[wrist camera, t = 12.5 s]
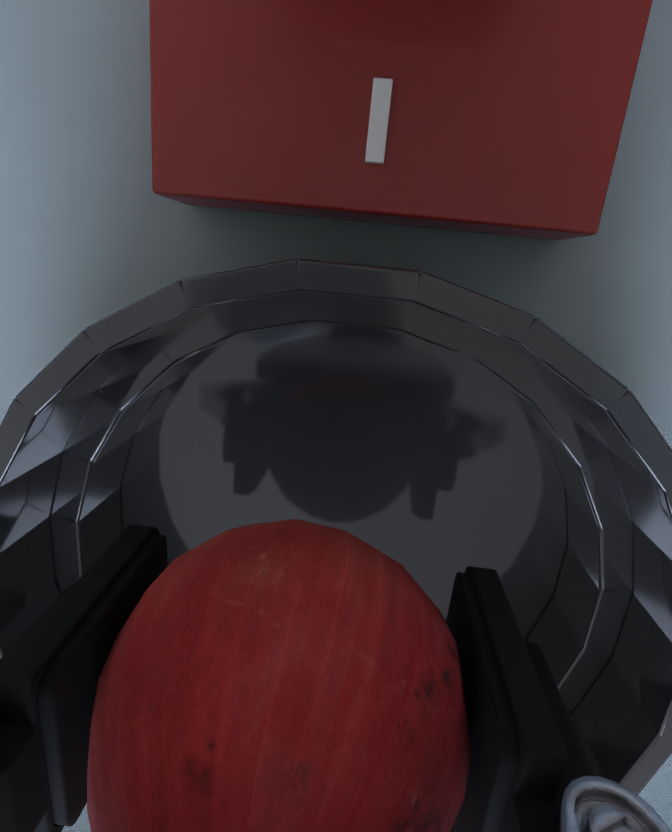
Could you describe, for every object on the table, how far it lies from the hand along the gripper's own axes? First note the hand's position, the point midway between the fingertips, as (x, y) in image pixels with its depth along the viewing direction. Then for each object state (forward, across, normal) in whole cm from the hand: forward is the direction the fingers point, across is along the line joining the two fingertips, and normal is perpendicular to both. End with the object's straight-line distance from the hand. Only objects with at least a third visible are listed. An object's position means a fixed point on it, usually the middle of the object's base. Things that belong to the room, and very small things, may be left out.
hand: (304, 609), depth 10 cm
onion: (+2, 0, 0) cm, 2 cm away
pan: (+4, 0, +1) cm, 4 cm away
